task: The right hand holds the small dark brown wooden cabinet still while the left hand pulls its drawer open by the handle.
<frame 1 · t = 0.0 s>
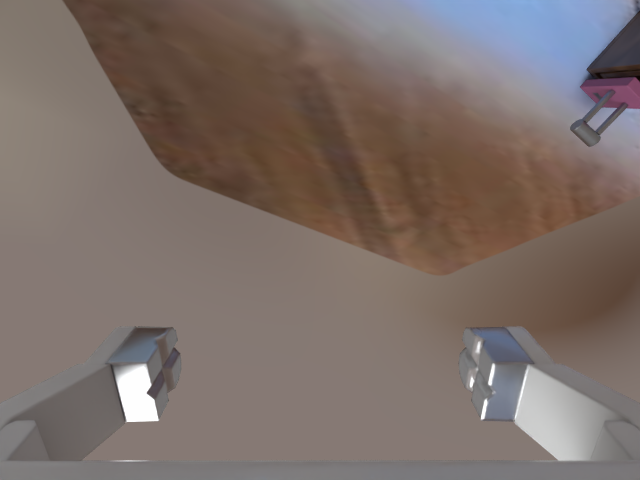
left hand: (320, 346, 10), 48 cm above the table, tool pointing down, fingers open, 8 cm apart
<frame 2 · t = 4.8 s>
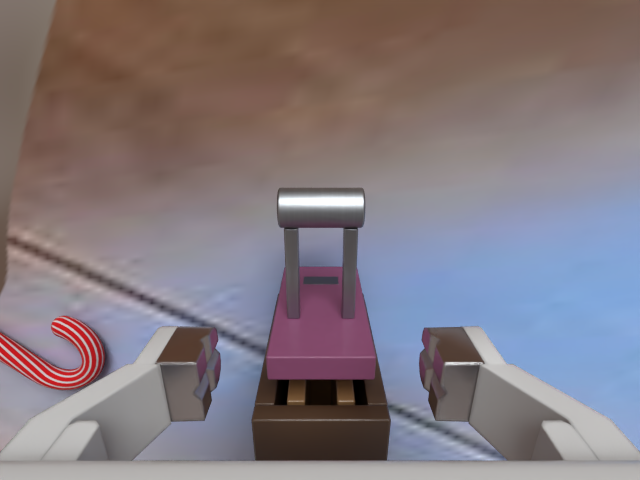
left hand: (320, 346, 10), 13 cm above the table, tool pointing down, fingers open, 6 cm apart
candy cane: (2, 313, 25), on the table
drawer: (320, 373, 21), point 5 cm above the table, slide at 1.2 cm
cabinet: (320, 389, 28), on the table, touching right hand
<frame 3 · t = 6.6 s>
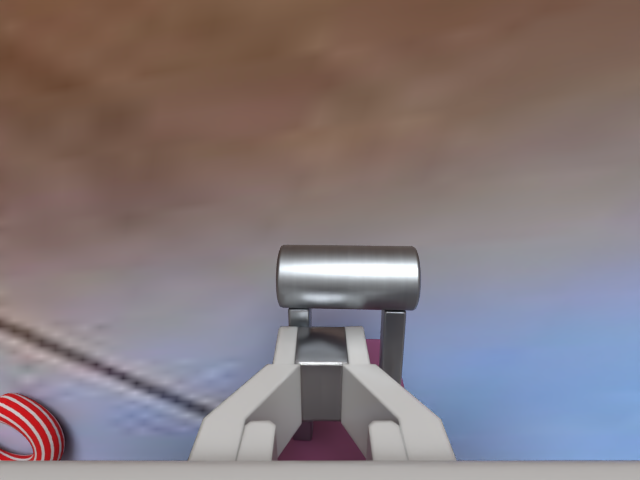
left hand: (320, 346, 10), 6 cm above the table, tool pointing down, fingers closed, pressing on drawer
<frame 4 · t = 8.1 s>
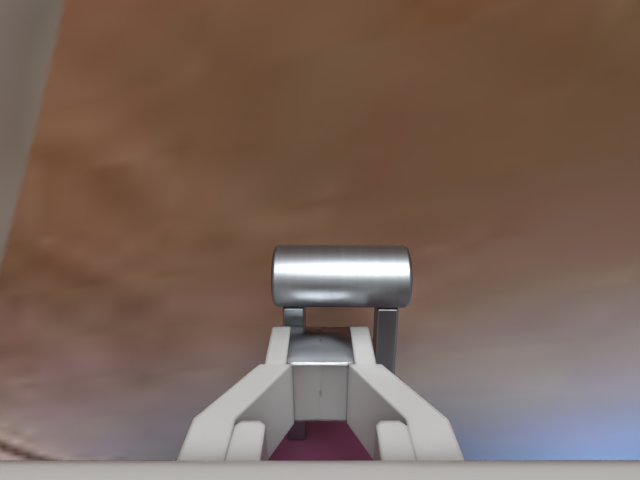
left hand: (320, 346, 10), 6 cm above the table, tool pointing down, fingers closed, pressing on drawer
when the right hand's fingers open (8 cm above the table, at t = 9.8 s): cabinet stays where it is, on the table.
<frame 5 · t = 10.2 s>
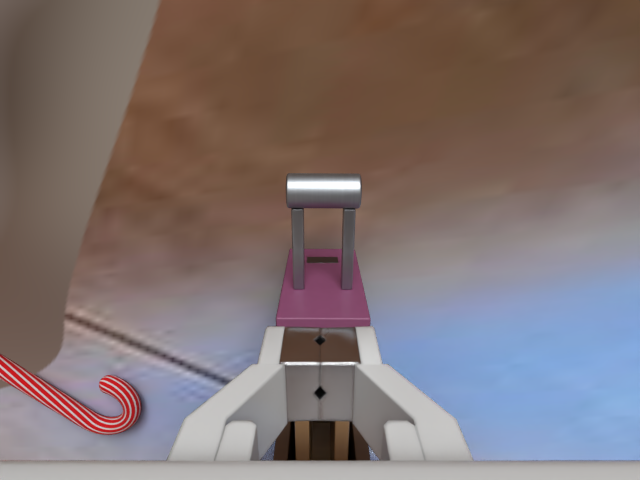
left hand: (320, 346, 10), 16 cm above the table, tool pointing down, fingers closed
candy cane: (57, 372, 30), on the table
drawer: (322, 342, 23), point 5 cm above the table, slide at 8.8 cm
cabinet: (320, 433, 33), on the table
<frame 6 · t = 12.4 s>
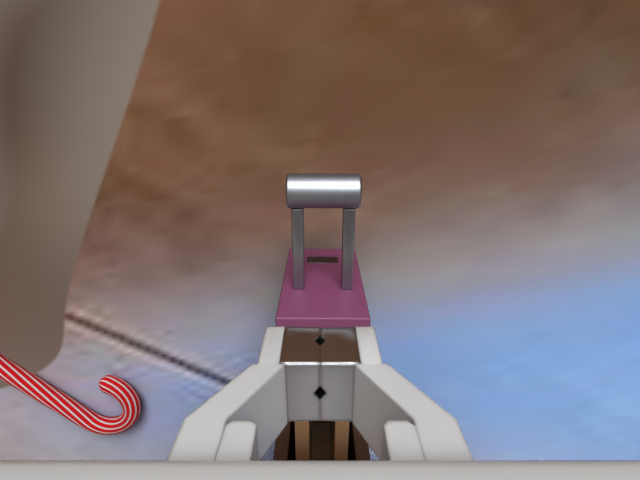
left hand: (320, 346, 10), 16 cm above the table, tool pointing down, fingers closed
candy cane: (57, 372, 30), on the table
drawer: (322, 342, 23), point 5 cm above the table, slide at 8.8 cm
cabinet: (320, 433, 33), on the table
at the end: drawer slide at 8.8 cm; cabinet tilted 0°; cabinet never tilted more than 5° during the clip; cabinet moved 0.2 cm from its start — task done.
